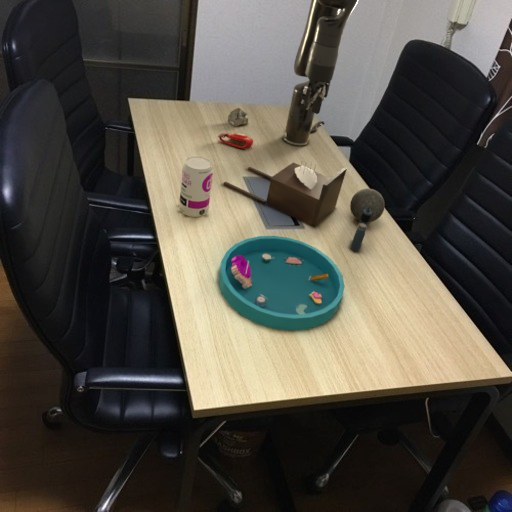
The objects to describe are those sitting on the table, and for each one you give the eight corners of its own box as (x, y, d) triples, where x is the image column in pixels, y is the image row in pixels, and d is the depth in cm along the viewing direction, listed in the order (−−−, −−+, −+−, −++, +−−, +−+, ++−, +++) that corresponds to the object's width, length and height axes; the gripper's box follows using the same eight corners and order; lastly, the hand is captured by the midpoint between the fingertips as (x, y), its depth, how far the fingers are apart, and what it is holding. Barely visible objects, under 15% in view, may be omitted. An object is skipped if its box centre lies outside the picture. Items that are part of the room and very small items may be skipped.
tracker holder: (242, 132, 186) (260, 137, 180) (240, 144, 188) (257, 150, 181) (216, 129, 178) (233, 135, 171) (214, 142, 180) (231, 148, 173)
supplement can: (213, 208, 146) (219, 162, 137) (198, 221, 140) (204, 173, 130) (188, 198, 148) (193, 152, 139) (173, 211, 142) (176, 163, 132)
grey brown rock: (227, 121, 194) (229, 104, 190) (246, 122, 197) (249, 105, 193) (229, 126, 191) (232, 109, 187) (249, 127, 194) (252, 109, 190)
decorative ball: (349, 206, 159) (358, 178, 153) (380, 216, 157) (391, 188, 151) (343, 222, 151) (352, 193, 145) (375, 232, 150) (386, 204, 144)
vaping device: (361, 243, 144) (374, 207, 137) (358, 253, 140) (371, 217, 133) (352, 240, 144) (364, 205, 137) (349, 250, 140) (361, 214, 133)
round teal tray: (219, 242, 134) (221, 224, 130) (329, 253, 138) (334, 235, 134) (218, 325, 110) (221, 306, 107) (351, 335, 114) (358, 316, 111)
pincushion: (289, 168, 153) (293, 151, 150) (308, 169, 155) (312, 152, 151) (300, 189, 144) (304, 172, 141) (320, 190, 146) (325, 173, 142)
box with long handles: (249, 169, 168) (256, 129, 159) (335, 208, 157) (347, 168, 149) (223, 185, 157) (229, 144, 148) (313, 228, 146) (325, 186, 138)
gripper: (323, 70, 129) (308, 129, 139) (345, 59, 139) (330, 114, 149) (297, 60, 131) (285, 119, 142) (321, 50, 142) (308, 105, 152)
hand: (308, 116), depth 145 cm, fingers open, 8 cm apart
